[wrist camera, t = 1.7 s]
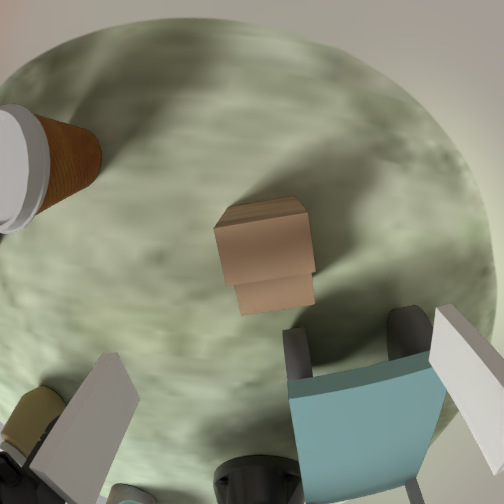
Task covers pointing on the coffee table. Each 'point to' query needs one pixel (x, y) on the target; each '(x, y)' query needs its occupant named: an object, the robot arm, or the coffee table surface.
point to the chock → (267, 254)
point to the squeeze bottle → (30, 422)
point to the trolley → (365, 414)
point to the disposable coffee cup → (40, 164)
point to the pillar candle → (129, 495)
